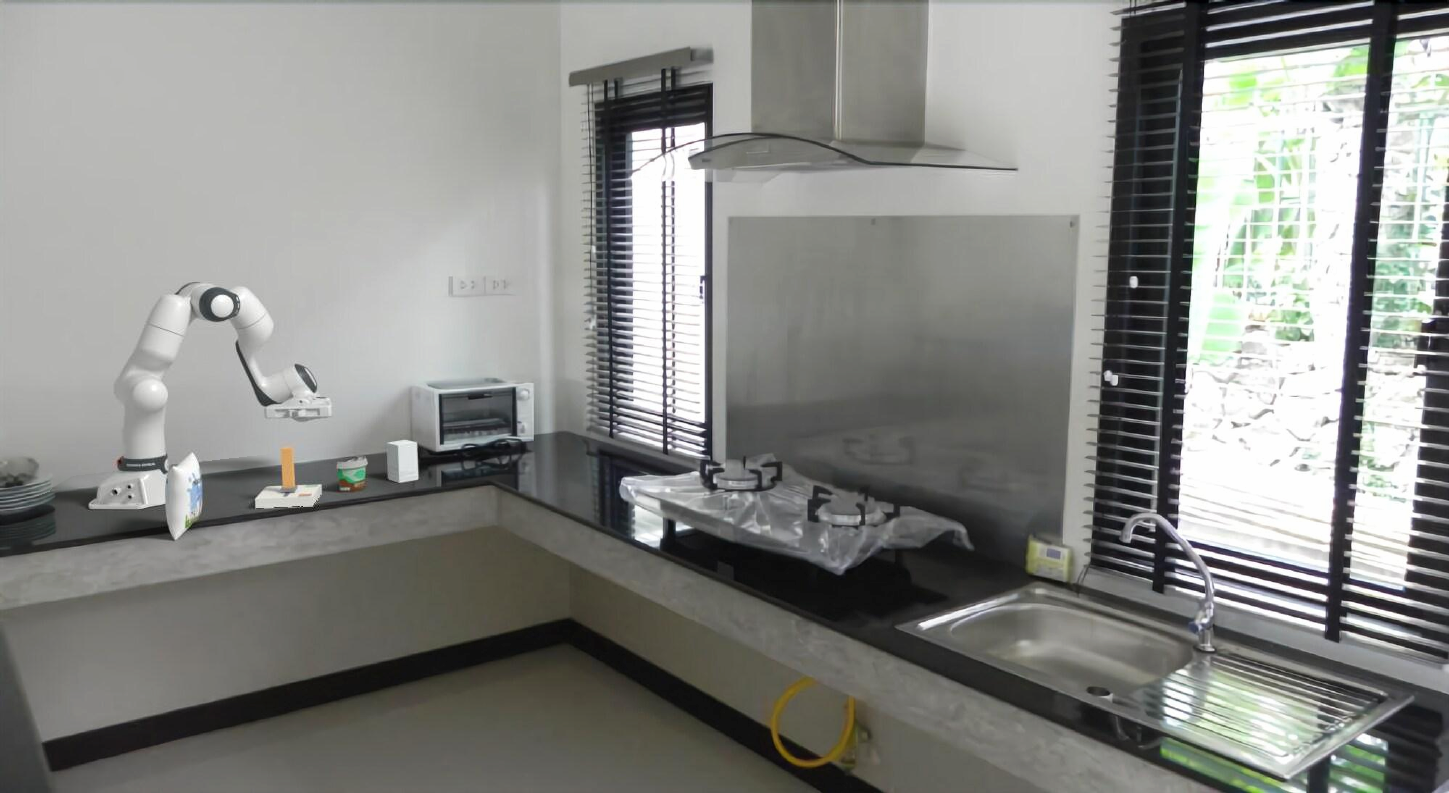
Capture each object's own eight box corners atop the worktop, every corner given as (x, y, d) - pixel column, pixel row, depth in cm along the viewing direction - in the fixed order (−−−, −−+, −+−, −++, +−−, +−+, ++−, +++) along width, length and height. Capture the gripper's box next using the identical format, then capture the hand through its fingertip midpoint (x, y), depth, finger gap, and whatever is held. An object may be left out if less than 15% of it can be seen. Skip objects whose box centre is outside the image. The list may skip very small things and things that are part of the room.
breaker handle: (280, 492, 318) (278, 449, 316) (283, 488, 322) (281, 446, 321) (294, 491, 318) (292, 449, 317) (297, 487, 323) (295, 446, 321)
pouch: (157, 541, 278) (152, 466, 275) (182, 522, 296) (178, 452, 293) (190, 540, 279) (185, 466, 276) (213, 521, 298) (208, 451, 295)
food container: (355, 494, 330) (354, 463, 328) (337, 493, 331) (336, 462, 329) (376, 485, 342) (375, 455, 340) (358, 484, 343) (357, 454, 341)
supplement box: (419, 479, 351) (417, 442, 349) (398, 483, 345) (397, 445, 344) (407, 476, 356) (406, 439, 354) (387, 479, 350) (385, 442, 348)
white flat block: (255, 508, 312) (255, 498, 311) (267, 495, 327) (266, 486, 327) (313, 506, 315) (312, 496, 314) (321, 493, 330) (321, 484, 330)
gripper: (268, 399, 343) (258, 405, 329) (334, 397, 347) (328, 404, 334) (269, 418, 344) (260, 425, 330) (335, 416, 348) (329, 423, 335)
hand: (294, 414), depth 332 cm, fingers closed
